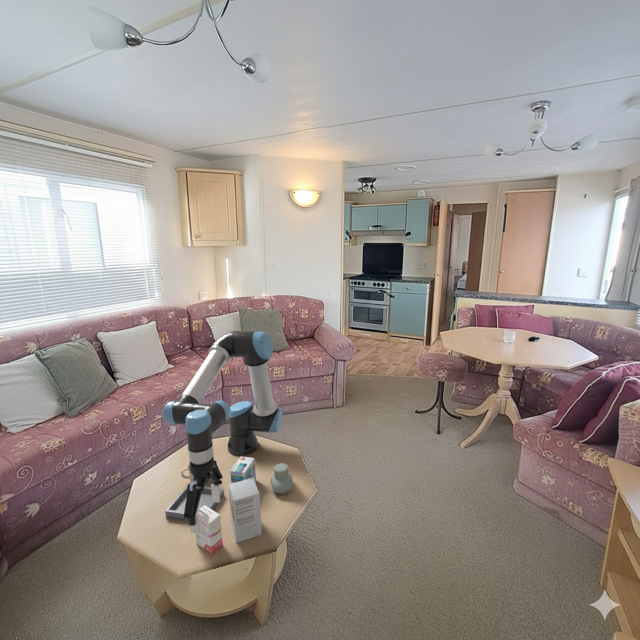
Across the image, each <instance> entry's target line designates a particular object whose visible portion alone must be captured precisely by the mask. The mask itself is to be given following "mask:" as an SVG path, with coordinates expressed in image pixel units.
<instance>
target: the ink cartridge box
mask: <svg viewBox="0 0 640 640" xmlns="http://www.w3.org/2000/svg"><path fill="white" fill-rule="evenodd" d="M197 513H198V518H199V529H200V532H199V533H194V534H195V543H196V544H197V545H199V546H200V547H201V548H202V549H204V550H205V551H207V552H208V553H210V554H212V555H213V554H214V553H215V552H216V551H217V550H218V549H220V547H222V546H223V532H222V523H221V522H222V521H221V513H218V512H217V511H215V510H214V511H213V510H212V509H210V508H208V507H207V506H205V505H204V506H203V507H201V508H200V509H199V508H198V509H197Z"/></svg>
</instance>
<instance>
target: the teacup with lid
mask: <svg viewBox="0 0 640 640" xmlns="http://www.w3.org/2000/svg"><path fill="white" fill-rule="evenodd" d="M185 471H188V473H189V475H188V476H187V475H184V472H185ZM180 475H181V477H182V478H183V479H185V480H186V479H187V480H189V483H193V480H194V476H193V475H192V474H191V472H190V466H189V461H188V463H187V467H185V468H183V469H181V472H180Z"/></svg>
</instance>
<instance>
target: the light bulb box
mask: <svg viewBox="0 0 640 640" xmlns="http://www.w3.org/2000/svg"><path fill="white" fill-rule="evenodd" d="M229 473H230V484H232V483H236V482H239V481H243V480H247V479H250V478H254V481H255V482H256V481H257V475H256V474H257V471H256V459H255V457H249V456H248V457H247V456H240V457H239V459H237V461H236V463H235V464H234V465H233V467H232V468H231V470H230V472H229Z"/></svg>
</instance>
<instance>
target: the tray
mask: <svg viewBox="0 0 640 640" xmlns="http://www.w3.org/2000/svg"><path fill="white" fill-rule="evenodd" d="M187 486H188V484H187V485H186V486H185V487H184V489H183V490H182V491H181V492H180V493H179V494H178V496H176V498H175V499H174V500H173V501H172V502H171V503H170V505H169V506H168V507H166V508H167V509H165V513H164V514H165V519H170V520H176V521H177V520H178V521H184V522H188V523H189V519H186V518H184V510H185V504H186V498H187V492H188V488H187ZM197 489H201V487H198V488H197ZM219 490H220V502H221V501H222V499H223V498H224V497H225V492H224V491H225V490H224V488H219ZM219 504H220V503H217V502H212V492H211V486H205V487H204V491H203V492H202V493H201V497H200V501H199V505H198V508H199V509H200V508H201V507H203V506H204V505H205V506H207V507H208V508H210V509H212V510H213V511H215V510H216V509H217V507H218V506H219Z"/></svg>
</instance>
